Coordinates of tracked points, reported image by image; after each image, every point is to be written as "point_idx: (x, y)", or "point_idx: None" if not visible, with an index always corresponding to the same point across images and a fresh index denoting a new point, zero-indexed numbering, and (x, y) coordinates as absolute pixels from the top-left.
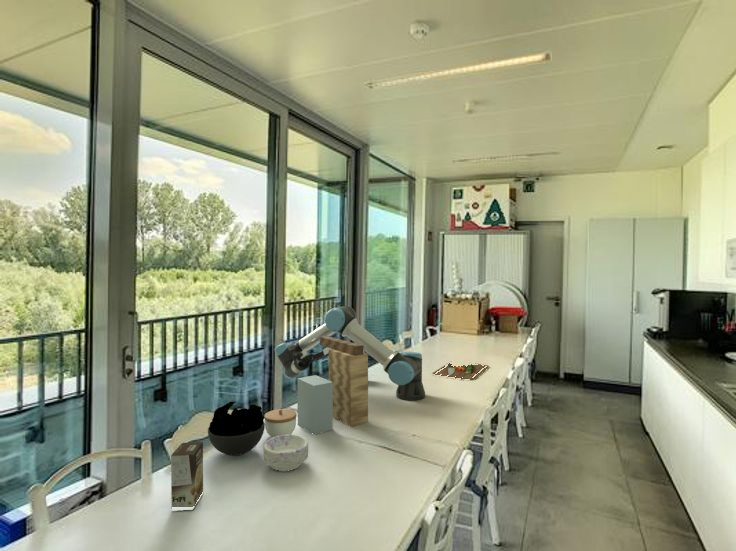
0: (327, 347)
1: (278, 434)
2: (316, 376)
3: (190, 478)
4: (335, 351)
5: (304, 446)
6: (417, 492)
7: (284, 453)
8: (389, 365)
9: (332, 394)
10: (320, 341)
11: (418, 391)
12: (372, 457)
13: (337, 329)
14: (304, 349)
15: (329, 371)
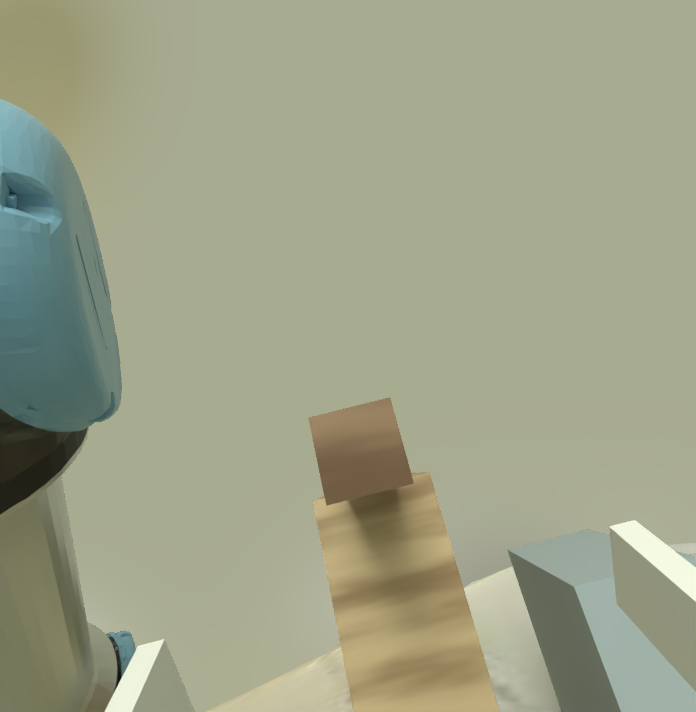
0: (144, 709)
1: None
2: (570, 575)
3: None
4: (416, 473)
5: None
6: (479, 588)
7: (688, 554)
8: (117, 674)
9: (526, 604)
10: (401, 442)
11: None
12: (502, 639)
13: (118, 401)
14: (646, 533)
15: (471, 618)
